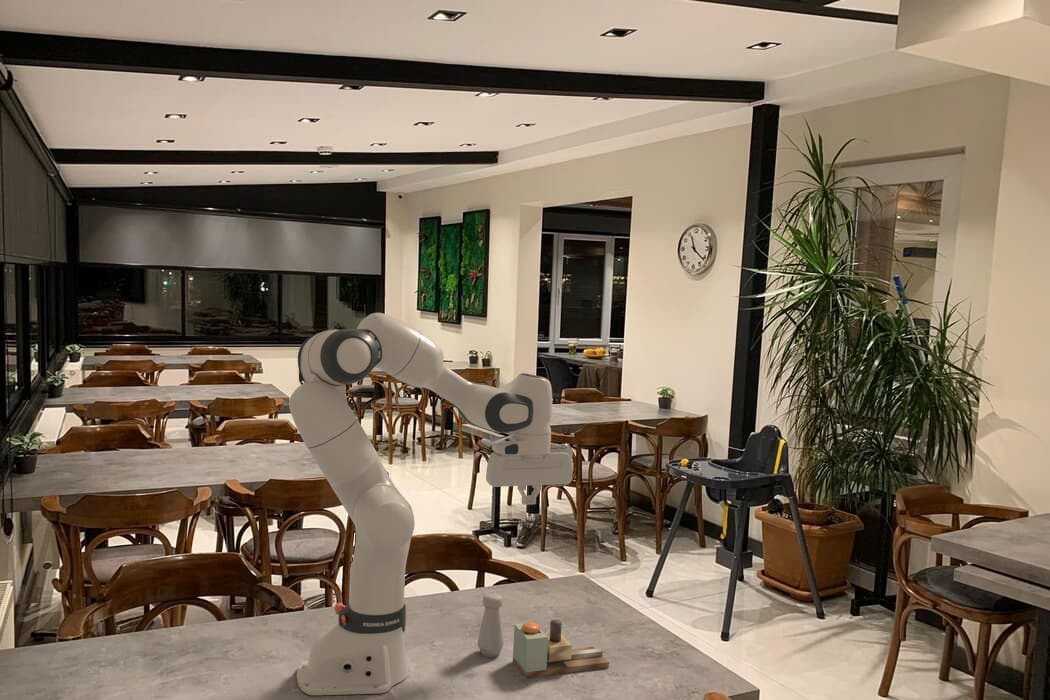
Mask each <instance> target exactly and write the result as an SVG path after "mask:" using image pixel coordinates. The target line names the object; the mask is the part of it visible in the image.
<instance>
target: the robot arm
mask: <svg viewBox="0 0 1050 700" xmlns="http://www.w3.org/2000/svg"><path fill="white" fill-rule="evenodd" d="M297 366H298V367H297V368H298V382H299V384H300V385H299V386H298V387H297V388H295V390H294V391H293V392H292V394H291V395H290V397H289V401H288V408H289V411H290V414H291V416H292V420H293V422H294V425H295V427H296V429H297V431H298V433H299V435H300V438H301V439H302V442H303V443H304V445H305V446H306V447H307V449H308V451H309V453H310V454H311V456H312V457H313V460H315V462H316V464H317V466H318V468H319V469H320V471H321V473H322V474H323V475H324V477H325V478H326V481H327V482H328V483H329V485H330V487H331V489H332V490H333V492H334V493H335V495H336V497H337V498H338V500H339V502H340V503H341V505H342V506H343V508H344V509H345V511H346V513H347V515H348V516H349V518H350V519H351V521H352V523H353V524H354V527H355V546H354V552H353V558H352V563H351V565H350V569H349V575H350V576H349V579H350V580H349V602H348V604H346V605H345V604H343V603H342V602H337V603H335V605H334V607H333V609H334V612H335V614H336V615H337V616H338V623H337V624H335V625H334V626H333V627H332V628H330V629H329V630H328V631H326V632H325V633H324V634H322V635H321V636H320V637H318V638H317V639H315V641H314V643H313V644H312V646H311V649H310V651H309V652H310V653H309V655H308V660H304V661H302V662H300V664H299V666H298V667H297V671H296V682H297V686H298V688H299V689H300V690H301V692H303V693H305V694H306V695H309V696H334V695H335V696H337V695H369V694H370V695H371V694H384V693H387V692H388V691H390V690H391V688H392V687H394V686H395V685H397V684H399V683H401V682H402V681H404V680H405V679H406V678H407V677H408V676H409V675H410V674H409V673H410V667H409V662H408V660H407V659H408V658H407V655H406V653H407V651H406V646H405V645H406V644H405V632H406V625H407V606H406V604H405V582H406V581H405V580H406V579H405V578H406V568H407V567H406V565H407V561H408V555H409V551H410V546H411V540H412V536H413V534H414V530H415V516H414V510H413V508H412V506H411V504H410V502H409V501H408V500H407V499H406V498H405V497H404V496H403V494H401V492H400V491H399V490H398V489H397V487H396V485H395V484H394V483H393V481H392V478H391V477H390V475H389V473H388V472H387V469H386V468H385V466H384V465H383V462H382V460H381V459H380V457H379V454H378V452H377V450H376V449H375V446H374V445H373V443H372V441H371V440H370V438H369V436H368V435H367V433H366V432H365V429H364V428H363V427H362V425H361V423H360V421H359V420H358V418H357V416H356V415H355V413H354V411H353V410H352V409H351V407H350V405H349V402H348V400H347V399H348V398H347V395H346V388H347V387H346V385H352V384H356V383H358V382H360V381H362V380H364V379H365V378H366V377H367V376H368V375H369V374H370V373H371V372H372V371H373V369H374V368H377V369H380V370H381V371H383V372H384V373H386V374H387V375H389V376H391V377H393V379H396V380H398V381H400V382H402V383H405V384H406V385H409V386H412V387H416V388H419V389H422V388H423V389H428V390H430V391H431V392H433V393H435V395H437V396H439V397H441V398H442V399H444V400H445V401H447V402H449V403H450V404H452V405H453V407H455V409H456V410H457V412H458V413H459V415H460V416H461V417H462V418H463V419H462V420H464V421H465V422H466V423H467V424H469V425H471V426H474V427H480V428H483V429H486V430H488V431H491V432H494V433H499V434H500V433H501V434H504V433H505V434H506V433H510V432H512V434H510V435H508V436H505V437H503V438H500V439H497V440H494V441H492V443H491V449H492V451H493V452H492V453H490V455H489V457H488V459H487V465H486V475H485V480H486V482H487V484H489V486H491V487H492V488H501V487H517V490H518V493H519V494H520V496H521V504H522V505H523V506H525V505H536V504H537V497H538V496H539V494H540V492H541V491H542V486H546V485H547V486H549V485H550V486H551V485H553V486H554V485H569V484H570V483H571V482H572V480H573V465H572V463H573V462H572V460H573V455H574V451H573V448H572V447H571V446H570V445H568V444H567V443H561V444H560V443H559V444H558V443H551V441H552V429H551V418H552V415H553V414H552V413H553V390H552V388H553V387H552V384H551V381H550V380H549V379H548V378H546V377H544V376H540V375H534V374H531V373H530V374H529V373H527V372H526V373H524V372H523V373H519V374H518V375H517V376H516V377H515V378H514V379H513V380H511V381H510V382H508V383H506V384H505V385H502V386H499V387H498V388H497V387H494V386H491V385H489V384H488V383H487V384H486V383H482V382H472V381H468V380H467V379H465V378H463V377H462V376H461V375H459V374H457V373H456V372H455V371H454V370H451V369H450V368H448V367H447V366H446V365H445V364H444V352H443V350H442V348H441V347H440V345H438V344H437V343H436V342H435V341H434V340H433V339H432V338H430V337H429V336H427V335H426V334H424V333H423V332H422V331H420V330H418V329H417V328H415V327H413V326H412V325H410V324H408V323H406V322H404V321H402V320H401V319H398V318H395V317H393V316H390V315H388V314H385V313H382V312H373V313H370V314H369V315H367V316H366V317H364V318H363V319H362V320H361V321H360V322H359V325H357V327H356V328H342V329H327V330H323V331H321V332H317V333H315V334H312V335H310V336H309V337H307V338H306V339H305V340H304V341H303V342H302V344H301V345H300V347H299V350H298V353H297ZM527 486H531V487H532V488H533V491H532V492H531V494H530V495H527V494H526V492H525V491H526V490H527Z"/></svg>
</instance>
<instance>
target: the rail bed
mask: <svg viewBox="0 0 1050 700" xmlns="http://www.w3.org/2000/svg"><path fill="white" fill-rule="evenodd" d="M603 652H604V651H603V650H602V649H601V648H600V647H599V648H595V647H594V646H588V647H579V648H572V652H571V659H567V660H558V661H550V662H549V661H548V660H547V669H546V670H540V671H532V672H525V671H524V669H523V668H522V667H521V665H520V664H519V663H518V662H517V660H516V659H515V658H514V656H513V655H512V662H513V663H514V665H515V666H516V667H517V669H518V670H519V671H520V672H521V674H522V675H523V676H525V677H524V678H525V679H527V678H528V677H529V678H536V677H544V676H551V675H560V674H561V675H562V674H569V673H577V672H584V671H585V672H586V671H593V670H599V669H608V668H609V667H610V666H609V665H610V661H608V660H607V659H606V658H605V657H604V655H603V654H604V653H603ZM529 678H528V679H529Z"/></svg>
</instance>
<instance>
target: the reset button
mask: <svg viewBox="0 0 1050 700" xmlns="http://www.w3.org/2000/svg"><path fill="white" fill-rule="evenodd" d="M524 623H525V624H523V625H522V631H523V632H525V634H535V633H539V631H540V629H541V625H539V624H538V623H536V622H535V623H531V622H524Z"/></svg>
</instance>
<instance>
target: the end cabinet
mask: <svg viewBox="0 0 1050 700" xmlns="http://www.w3.org/2000/svg"><path fill="white" fill-rule="evenodd" d="M525 623H526V622H523V623H514V626H513V629H514V630H513V649H512V651H513V652H512V654H513V655H512V657H513V656H514V658H515V659H516V660H517V662H518V663H519V664H520V665H521V667H522V668H523V669H524V671H525V672H532V671H540V670H546V669H547V648H548V636H547V634H546V633H545V632H544V631H543V630H542V628H540V631H539V633H535V634H525V632H523V631H522V625H523V624H525ZM530 623H536V622H534V621H533V622H530Z"/></svg>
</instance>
